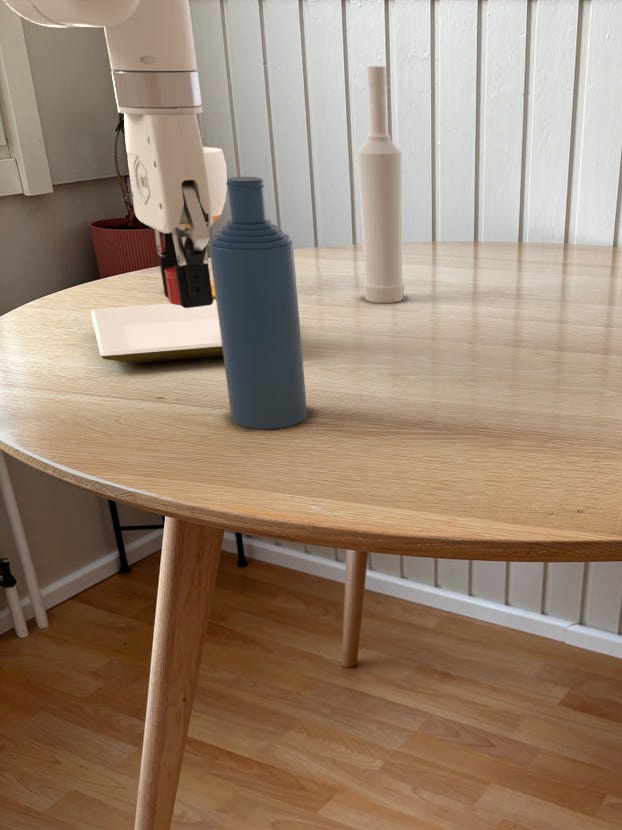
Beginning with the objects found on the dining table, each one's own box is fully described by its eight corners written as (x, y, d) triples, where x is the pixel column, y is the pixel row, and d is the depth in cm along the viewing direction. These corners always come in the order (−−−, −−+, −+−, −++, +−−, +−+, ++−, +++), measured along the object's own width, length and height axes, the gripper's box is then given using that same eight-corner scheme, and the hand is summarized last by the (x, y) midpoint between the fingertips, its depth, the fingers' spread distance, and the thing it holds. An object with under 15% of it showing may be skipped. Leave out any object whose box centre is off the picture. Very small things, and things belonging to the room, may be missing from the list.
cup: (247, 283, 124) (232, 147, 116) (234, 299, 117) (217, 154, 108) (178, 282, 124) (157, 145, 115) (160, 298, 116) (137, 153, 108)
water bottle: (240, 433, 77) (209, 185, 67) (224, 409, 82) (193, 174, 72) (316, 423, 79) (297, 182, 69) (296, 400, 84) (275, 172, 74)
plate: (93, 327, 104) (89, 308, 103) (262, 315, 110) (260, 296, 109) (104, 375, 89) (99, 353, 88) (297, 357, 96) (295, 337, 94)
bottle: (402, 293, 121) (397, 66, 107) (406, 302, 116) (401, 67, 103) (362, 294, 120) (351, 65, 106) (365, 303, 116) (354, 66, 102)
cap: (192, 307, 94) (187, 274, 92) (161, 302, 95) (156, 270, 93) (217, 299, 97) (213, 267, 95) (187, 295, 98) (182, 264, 96)
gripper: (91, 90, 90) (127, 289, 100) (147, 100, 78) (181, 324, 88) (168, 89, 93) (195, 281, 103) (232, 98, 82) (256, 314, 92)
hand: (188, 299), depth 96 cm, fingers closed on cap, 3 cm apart
